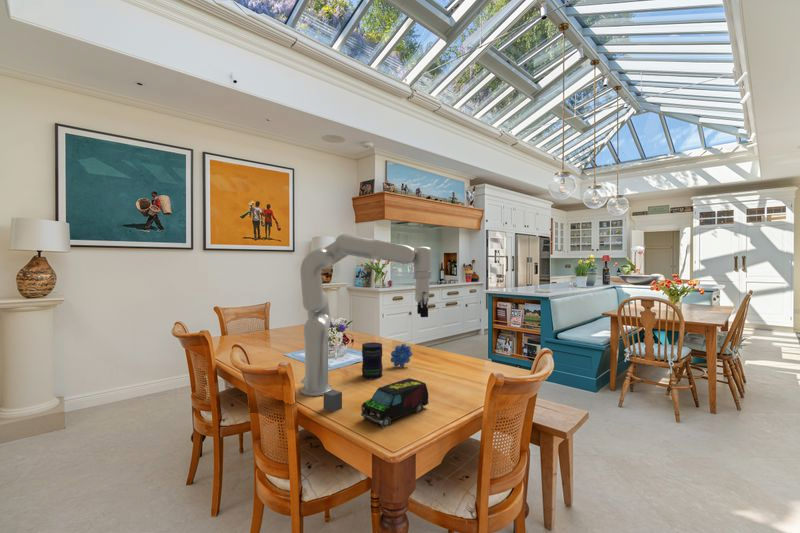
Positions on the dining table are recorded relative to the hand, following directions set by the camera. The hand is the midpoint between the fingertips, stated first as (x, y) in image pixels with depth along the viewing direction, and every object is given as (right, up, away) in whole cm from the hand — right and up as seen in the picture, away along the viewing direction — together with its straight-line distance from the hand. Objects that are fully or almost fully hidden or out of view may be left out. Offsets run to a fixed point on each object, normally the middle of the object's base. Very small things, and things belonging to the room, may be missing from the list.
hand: (422, 315), depth 153 cm
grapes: (-9, -31, +33) cm, 46 cm away
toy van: (-11, -32, -26) cm, 43 cm away
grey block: (-35, -32, -22) cm, 52 cm away
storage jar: (-23, -31, +17) cm, 42 cm away
